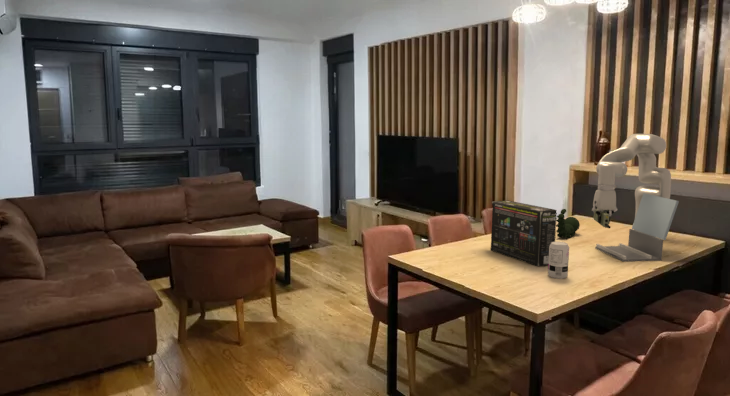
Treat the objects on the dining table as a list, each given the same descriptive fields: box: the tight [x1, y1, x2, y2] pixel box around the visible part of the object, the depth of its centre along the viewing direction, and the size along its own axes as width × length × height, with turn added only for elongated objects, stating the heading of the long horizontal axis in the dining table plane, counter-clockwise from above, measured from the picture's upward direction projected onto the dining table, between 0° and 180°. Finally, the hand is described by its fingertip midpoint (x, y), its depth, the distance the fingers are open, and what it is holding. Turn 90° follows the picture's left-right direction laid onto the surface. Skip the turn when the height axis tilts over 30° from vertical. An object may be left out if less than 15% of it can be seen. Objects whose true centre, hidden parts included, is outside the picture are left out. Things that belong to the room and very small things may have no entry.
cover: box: [631, 193, 680, 241], centre depth 261 cm, size 20×26×1 cm
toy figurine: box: [555, 208, 581, 239], centre depth 302 cm, size 9×19×25 cm
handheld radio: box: [593, 209, 612, 229], centre depth 259 cm, size 7×3×25 cm
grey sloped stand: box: [594, 228, 664, 263], centre depth 262 cm, size 20×26×10 cm
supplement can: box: [547, 241, 570, 280], centre depth 225 cm, size 8×8×15 cm
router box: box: [490, 200, 558, 267], centre depth 257 cm, size 36×11×27 cm, turn 26°
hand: (603, 223), depth 260 cm, fingers closed on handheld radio, 2 cm apart
